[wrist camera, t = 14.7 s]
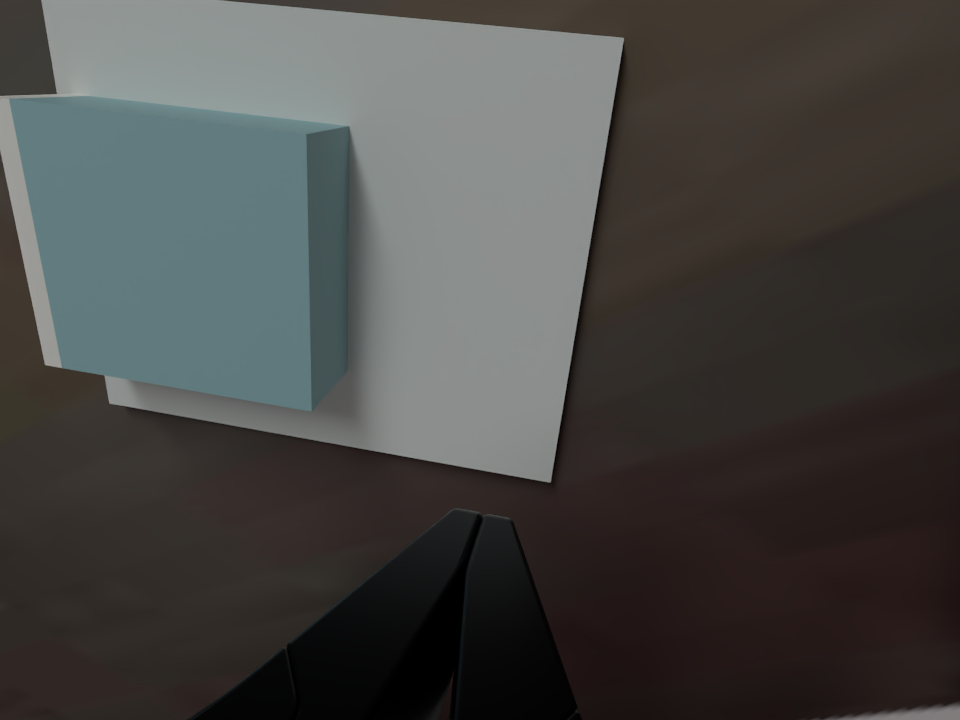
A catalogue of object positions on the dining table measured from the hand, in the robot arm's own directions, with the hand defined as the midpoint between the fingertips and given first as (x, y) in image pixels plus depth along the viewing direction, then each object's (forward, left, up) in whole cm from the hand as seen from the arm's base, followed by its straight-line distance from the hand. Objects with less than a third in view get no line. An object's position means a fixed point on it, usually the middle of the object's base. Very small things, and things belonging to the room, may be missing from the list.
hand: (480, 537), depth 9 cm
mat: (+7, 0, -12) cm, 15 cm away
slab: (+6, 0, -10) cm, 12 cm away
